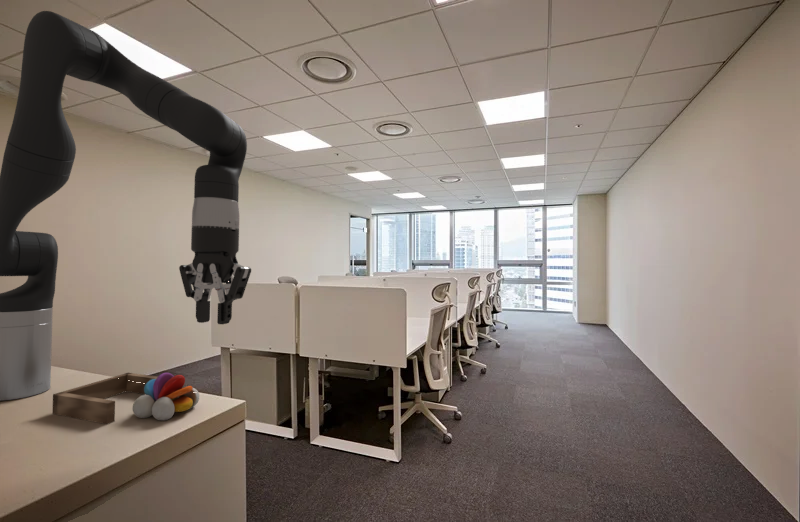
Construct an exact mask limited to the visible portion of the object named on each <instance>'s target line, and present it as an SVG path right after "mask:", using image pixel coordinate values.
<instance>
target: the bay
mask: <svg viewBox="0 0 800 522" xmlns="http://www.w3.org/2000/svg"><path fill="white" fill-rule="evenodd" d="M157 377H158V376H156V375H150V374H149V375H148V374H141V373H140V374H139V373H133V372H126V373H122V374H119V375H115V376H113V377H109V378H104V379H101V380H98V381H95V382H90V383H87V384H84V385H81V386H77V387H74V388H70V389H67V390H63V391H60V392H57V393H53V394H52V413H51V414H52V415H56V416H61V417H67V418H73V419H77V420H83V421H88V422H93V423H94V422H95V423H99V424H100V423H101V424H104V425H109V424H111V423H113V422H115V420H116V418H115V417H116V416H115V415H116V401H115V400H113V399H111V400H110V399H107V398H111V397H114V396H117V395H119V393H120V394H122V392H123V393H126V392H127V391H128V393H134V394H135V393H136V394H141V395H146V394H145V392H144V387H145V385H146V383H147V382H148V381H150V380H152V379H157ZM118 378H119V379H118ZM128 380H130V381H128ZM132 381H134V382H132ZM136 382H141V383H136ZM143 383H145V384H143ZM125 391H126V392H125ZM116 394H117V395H116ZM113 395H114V396H113Z"/></svg>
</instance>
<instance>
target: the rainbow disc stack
mask: <svg viewBox="0 0 800 522" xmlns="http://www.w3.org/2000/svg"><path fill="white" fill-rule="evenodd" d="M185 382H186V378H185V376H184V375H182V374H175V375H173V374H172V373H170V372H163V373H161V374H159V375H158V376H157V379H152V380H150V381H148V382H147V383H146V385H145V387H144V392H145V394H141V395H140V396H139V397H137V398H136V399H135V400H134V402H133V405H132V413H133V415H135V416H136V417H137V418H140V419H146V418H147V419H148V418H150V417H151V416H153V418H155V419H156V420H158V421H167V420H169V419H171V418H172V417H173V415H174V414H175V413H178V412H179V413H180V412H185V411H188V410H189V409H193V408H194V407H195V406H196V405H197V404H198V403H199V400H200V393H199V391H198V390H197V388H194V387H193V386H192V385H187V386H185ZM184 386H185V387H184ZM193 392H197V393H193Z"/></svg>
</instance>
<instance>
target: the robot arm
mask: <svg viewBox="0 0 800 522" xmlns="http://www.w3.org/2000/svg"><path fill="white" fill-rule="evenodd" d="M66 76H69V77H72V78H74V79H78V80H80V81H85V82H91V83H95V84H97V85H100V86H103V87H105V88H108V89H111V90H114V91H115V92H118V93H120V94H121V95H123V96H124V97H126V98H127V99H129V101H130V102H131V103H132V104H133V105H134V106H135V107H136V108H137V109H138V110H140V111H141V112H143V113H144V114H146V115H147V116H148V117H150V118H152V119H153V120H155V121H157V122H159V123H160V124H162V125H164V126H165V127H167V128H169V129H171V130H174V131H176V132H178V133H179V134H180V135H182V136H183V137H184V138H185V139H187V140H189V141H191V142H192V143H193V144H195V145H197V146H198V147H200V148H201V149H204V150H206V151H208V152H209V159H208V161H207V162H208V163H207V164H203V165H200V166H198V168H196V169H195V173H194V188H193V189H194V193H193V194H194V195H193V198H194V199H193V204H192V211H191V235H190V236H191V241H190V242H191V245H190V249H191V251H192V252H193V253H194V257H193V259H192V262H191V263H189V264H182V265H180V266H179V267H178V269H179V273H180V277H181V282H182V285H183V289H184V292H185V296H186V297H187V298H191V299H193V300H194V301H195V318H196V322H197V323H199V324H200V323H201V324H204V323H208V322H209V321H210V320H211V300H210V298H211V296H212V295H211V294H212V292H213V289H214V290H215V291H216V293H217V298H218V303H217V321H216V322H217V325H226V324H229V323H230V322H231V320H232V315H233V303H234V302H235V300H239V299H242V298H243V297H244V294H245V291H246V287H247V285H248V283H249V279H250V276H251V273H252V268H251V267H250V266H244V265H241V264H239V262H238V259H237V254H238V253H239V250H240V248H239V246H240V244H239V243H240V208H239V189H240V188H239V187H240V186H239V180H240V177H241V174H242V170H243V167H244V163H245V159H246V156H247V150H248V144H247V143H248V142H247V136H246V132H245V131H244V129H243V128H242V127H241V125H240V124H238V122H236V121H234V120H233V119H232V118H231V117H229V116H228V115H227V114H225V113H224V112H223V111H221V110H219V108H216V107H215V106H212V105H211V104H209V103H207V102H205V101H203V100H201V99H199V98H196V97H194V96H192V95H190V94H189V93H188V92H186V91H184V90H183V89H181V88H180V87H178V86H175V85H174V84H172V83H171V82H168V81H166V80H165V79H163V78H162V77H159V76H158V75H155V74H153V73H151V72H149V71H147V70H146V69H144V68H143V67H140V66H139V65H137V64H136V63H135V62H133V60H130V59H129V58H128V57H127V56H125V55H124V54H123V53H122V52H120V51H119V50H118V49H117V48H116V47H115V46H113V45H112V44H111V43H110V42H109V41H108V40H106V39H105V38H104V37H102V35H100V34H99V33H97V32H95V31H94V30H91V29H90V28H88V27H86V26H84V25H81V24H80V23H78V22H75V21H74V20H71V19H69V18H67V17H65V16H63V15H60V14H59V13H56V12H53V11H52V10H51V11H50V10H42V11H39V12H37V13H36V14H35V15H33V17H31V19H30V21H29V23H28V25H27V28H26V32H25V36H24V42H23V51H22V62H21V72H20V82H19V90H18V96H17V100H16V105H15V110H14V115H13V118H12V123H11V127H10V130H9V133H8V136H7V140H6V144H5V147H4V149H5V150H4V153H3V158H2V162H1V163H2V164H1V167H0V277H27V279H26V281H25V282H24V283H23V284H21V285H20V286H18V287H16V288H15V287H14V289H11V290H7V291H5V292H2V293H1V292H0V401H10V400H16V399H22V398H28V397H32V396H35V395H38V394H41V393H44V392H47V391H48V390H50V389H51V379H52V376H51V375H52V374H51V373H52V350H53V349H52V348H53V347H52V343H53V312H54V311H53V309H54V308H53V307H54V297H55V292H56V280H57V269H58V262H59V261H58V260H59V248H58V247H59V246H58V243H57V240H56V238H55V236H53V235H52V234H50V233H48V232H37V231H36V232H34V231H21V230H17V229H18V227H19V225H20V224H21V222H22V221H23V219H24V218H25V217H26V216H27V214H29V213H30V212H31V211H32V210H33V209H34V208H36V207H37V206H39V205H40V204H41V203H43V202H44V201H46V200H47V199H49V198H50V197H52V196H53V195H55V193H57V192H58V191H60V190H61V189H62V188H63V187H64V186H65V185H66V184H67V182H68V181H69V179H70V176H71V174H72V173H71V172H72V169H73V165H74V163H75V162H74V161H75V158H76V153H77V152H76V151H77V147H76V142H75V138H74V136H73V134H72V132H71V128H70V125H69V124H68V122H67V119H66V116H65V113H64V111H63V107H62V106H63V105H62V93H63V89H64V88H63V87H64V82H65V79H66Z"/></svg>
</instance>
